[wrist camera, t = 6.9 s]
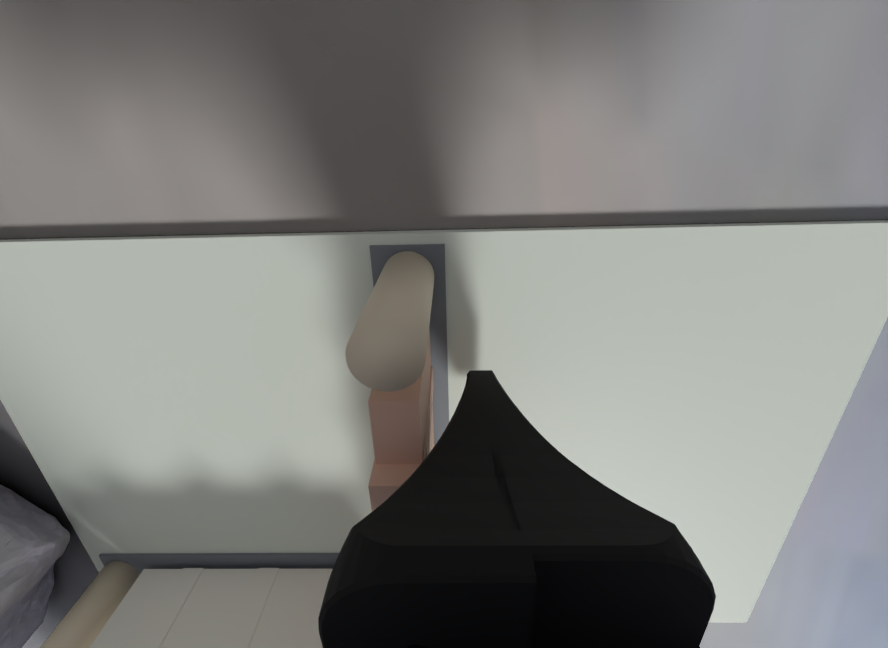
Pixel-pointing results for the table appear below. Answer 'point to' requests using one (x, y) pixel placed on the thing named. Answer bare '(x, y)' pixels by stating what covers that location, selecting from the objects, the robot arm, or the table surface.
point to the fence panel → (396, 370)
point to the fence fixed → (195, 609)
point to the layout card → (434, 376)
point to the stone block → (26, 566)
